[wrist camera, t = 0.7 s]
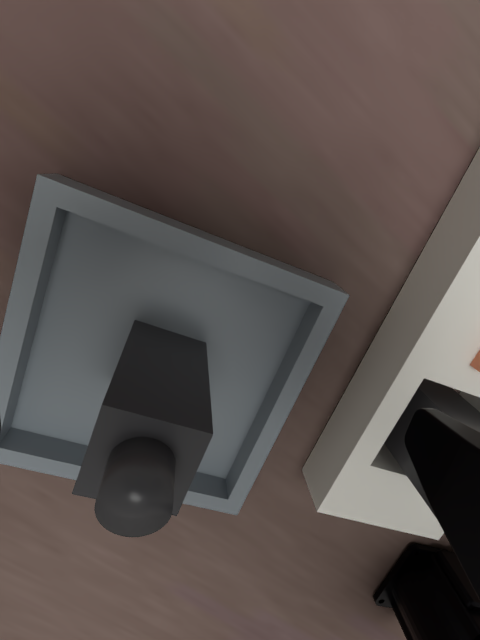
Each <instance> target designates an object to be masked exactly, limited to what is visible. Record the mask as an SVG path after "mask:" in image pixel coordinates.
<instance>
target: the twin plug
mask: <svg viewBox="0 0 480 640" xmlns="http://www.w3.org/2000/svg"><path fill="white" fill-rule="evenodd" d="M419 408H433V409H436V410H438V411H440V412H442V413H444V414H446V415H448V416H450V417H452V418H454V419H456V420H457V421H459V422H461V423H463V424H465V425H467V426H469V427H471V428H473V429H475V430H476V431H478V432H480V412H479V411H478V410H477V409H476V408H475V407H473V406H472V405H471V404H470V403H469V402H467V401H466V400H465V399H464V398H463V397H462V396H460V395H459V394H458V393H457V392H456V391H455V390H453V389H452V388H451V387H448V386H445V385H443V384H440V383H437V382H434V381H431V380H428V379H425V378H424V379H423V381H422V382H421V384H420V386H419V387H418V389H417V391H416V392H415V394H414V395H413V397H412V399H411V400H410V402H409V404H408V405H407V407H406V408H405V410H404V412H403V413H402V415H401V416H400V418H399V420H398V421H397V423H396V425H395V426H394V428H393V429H392V431H391V433H390V434H389V436H388V438H387V439H386V441H385V442H384V444H385V445H386V447H387V448H388V449H389V451H390V452H391V454H392V455H393V457H394V458H395V460H396V461H397V462H398V464H399V465H400V467H401V468H402V470H403V471H404V472H405V474H406V475H407V477H408V478H409V480H410V481H411V483H412V484H413V485H414V487H415V488H416V490H417V491H418V493H419V494H420V495H421V497H422V498H423V500H424V501H425V503H426V504H427V506H428V507H429V508H430V510H431V511H432V513H433V514H434V512H433V510H432V508H431V506H430V504H429V502H428V499H427V497H426V495H425V492H424V490H423V488H422V485H421V483H420V480H419V478H418V476H417V473H416V471H415V468H414V466H413V464H412V461H411V459H410V456H409V454H408V452H407V449H406V447H405V443H404V435H405V432H406V430H407V428H408V425H409V423H410V421H411V418H412V416H413V414H414V412H415V411H416V410H417V409H419ZM434 516H435V514H434ZM435 517H436V516H435Z"/></svg>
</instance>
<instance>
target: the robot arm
mask: <svg viewBox="0 0 480 640" xmlns="http://www.w3.org/2000/svg"><path fill="white" fill-rule="evenodd" d="M0 433H1V418H0ZM404 443H405V447H406V449H407V452H408V454H409V456H410V459H411V461H412V464H413V466H414V468H415V471H416V473H417V476H418V478H419V480H420V483H421V485H422V488H423V490H424V492H425V495H426V497H427V499H428V502H429V504H430V506H431V508H432V510H433V512H434V514H435V516H436V518H437V520H438V522H439V524H440V526H441V528H442V529H443V531H444V533H445V535H446V537H447V539H448V541H449V543H450V545H451V547H452V549H453V550H454V552H450V551H446V550H441V549H437V548H432V547H428V546H424V545H419V544H412V545H410V546H409V547H408V548H407V550H406V551H405V553H404V554H403V555H402V557H401V558H400V560H399V561H398V562H397V564H396V565H395V567H394V568H393V569H392V571H391V572H390V574H389V575H388V577H387V578H386V579H385V581H384V582H383V584H382V585H381V586H380V588H379V589H378V591H377V592H376V593H375V595H374V597H373V599H374V601H375V603H376V605H378V606H384V607H389V608H393V610H394V612H395V615H396V617H397V619H398V621H399V623H400V626H401V628H402V630H403V632H404V634H405V637H406V639H407V640H480V432H478V431H476V430H475V429H473V428H471V427H469V426H467V425H465V424H463V423H461V422H459V421H457V420H456V419H454V418H452V417H450V416H448V415H446V414H444V413H442V412H440V411H438V410H436V409H433V408H419V409H417V410H416V411H415V412H414V414H413V416H412V418H411V421H410V423H409V425H408V428H407V430H406V432H405V435H404Z"/></svg>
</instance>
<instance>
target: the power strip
mask: <svg viewBox="0 0 480 640" xmlns="http://www.w3.org/2000/svg"><path fill="white" fill-rule="evenodd" d="M424 378H425V379H428V380H431V381H434V382H437V383H440V384H443V385H445V386H448V387H451V388H454V389H457V390H460V391H461V392H460V393H459V395H460V396H462V397H463V398H464V399H465V400H466V401H467V402H469V403H470V404H471V405H472V406H473V407H475V408H476V409H477V410H478V411H479V412H480V147H479V149H478V151H477V153H476V155H475V157H474V158H473V160H472V162H471V164H470V166H469V167H468V169H467V171H466V173H465V175H464V176H463V178H462V180H461V182H460V184H459V186H458V187H457V189H456V191H455V193H454V195H453V196H452V198H451V200H450V202H449V204H448V205H447V207H446V209H445V211H444V213H443V215H442V216H441V218H440V220H439V222H438V224H437V225H436V227H435V229H434V231H433V233H432V235H431V236H430V238H429V240H428V242H427V244H426V245H425V247H424V249H423V251H422V253H421V254H420V256H419V258H418V260H417V262H416V264H415V265H414V267H413V269H412V271H411V273H410V274H409V276H408V278H407V280H406V282H405V283H404V285H403V287H402V289H401V291H400V293H399V294H398V296H397V298H396V300H395V302H394V303H393V305H392V307H391V309H390V311H389V312H388V314H387V316H386V318H385V320H384V322H383V323H382V325H381V327H380V329H379V331H378V332H377V334H376V336H375V338H374V340H373V341H372V343H371V345H370V347H369V349H368V351H367V352H366V354H365V356H364V358H363V360H362V361H361V363H360V365H359V367H358V369H357V370H356V372H355V374H354V376H353V378H352V380H351V381H350V383H349V385H348V387H347V389H346V390H345V392H344V394H343V396H342V398H341V399H340V401H339V403H338V405H337V407H336V409H335V410H334V412H333V414H332V416H331V418H330V419H329V421H328V423H327V425H326V427H325V428H324V430H323V432H322V434H321V436H320V438H319V439H318V441H317V443H316V445H315V447H314V448H313V450H312V452H311V454H310V456H309V457H308V459H307V461H306V463H305V465H304V467H303V468H302V472H303V475H304V478H305V480H306V483H307V486H308V489H309V491H310V494H311V497H312V500H313V503H314V505H315V508H316V511H317V512H320V513H324V514H328V515H333V516H337V517H341V518H346V519H350V520H354V521H358V522H363V523H367V524H371V525H376V526H380V527H384V528H389V529H393V530H397V531H401V532H406V533H410V534H414V535H419V536H423V537H427V538H432V539H436V540H439V539H440V538H441V536H442V535H443V534H444V531H443V529H442V528H441V526H440V524H439V522H438V520H437V518H436V517H435V516H434V514H433V513H432V511H431V510H430V508H429V507H428V506H427V504H426V503H425V501H424V500H423V498H422V497H421V495H420V494H419V493H418V491H417V490H416V488H415V487H414V485H413V484H412V483H411V481H410V480H409V478H408V477H407V475H406V474H405V472H404V471H403V470H402V468H401V467H400V465H399V464H398V462H397V461H396V460H395V458H394V457H393V455H392V454H391V452H390V451H389V449H388V448H387V447H386V445H385V444H384V442H385V441H386V439H387V438H388V436H389V434H390V433H391V431H392V429H393V428H394V426H395V425H396V423H397V421H398V420H399V418H400V416H401V415H402V413H403V412H404V410H405V408H406V407H407V405H408V404H409V402H410V400H411V399H412V397H413V395H414V394H415V392H416V391H417V389H418V387H419V386H420V384H421V382H422V381H423V379H424Z"/></svg>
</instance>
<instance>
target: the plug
mask: <svg viewBox="0 0 480 640" xmlns="http://www.w3.org/2000/svg"><path fill="white" fill-rule="evenodd" d="M212 436H213V423H212V410H211V397H210V384H209V371H208V357H207V344H206V342H202V341H199V340H196V339H193V338H190V337H187V336H184V335H181V334H178V333H175V332H171V331H168V330H165V329H162V328H159V327H156V326H153V325H150V324H147V323H144V322H141V321H137V320H134V323H133V325H132V328H131V331H130V333H129V336H128V338H127V341H126V343H125V346H124V349H123V351H122V354H121V356H120V359H119V361H118V364H117V367H116V369H115V372H114V374H113V377H112V380H111V382H110V385H109V387H108V390H107V392H106V395H105V398H104V400H103V403H102V405H101V408H100V411H99V414H98V417H97V420H96V423H95V426H94V429H93V432H92V435H91V438H90V441H89V444H88V447H87V450H86V453H85V456H84V459H83V462H82V465H81V468H80V471H79V474H78V477H77V480H76V483H75V486H74V489H73V492H72V494H74V495H79V496H84V497H89V498H93V499H96V503H95V514H96V517H97V519H98V521H99V522H100V524H101V525H102V526H103V527H104V528H106V529H107V530H108V531H110V532H112V533H114V534H117V535H120V536H126V537H140V536H145V535H149V534H152V533H154V532H156V531H158V530H159V529H161V528H162V527H163V526H164V525H165V524H166V523H167V522H168V521H169V519H170V517H171V515H174V516H177V514H178V512H179V510H180V507H181V505H182V503H183V501H184V499H185V496H186V494H187V492H188V490H189V487H190V485H191V483H192V481H193V479H194V476H195V474H196V472H197V470H198V467H199V465H200V463H201V461H202V459H203V456H204V454H205V452H206V450H207V447H208V445H209V443H210V441H211V439H212Z"/></svg>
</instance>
